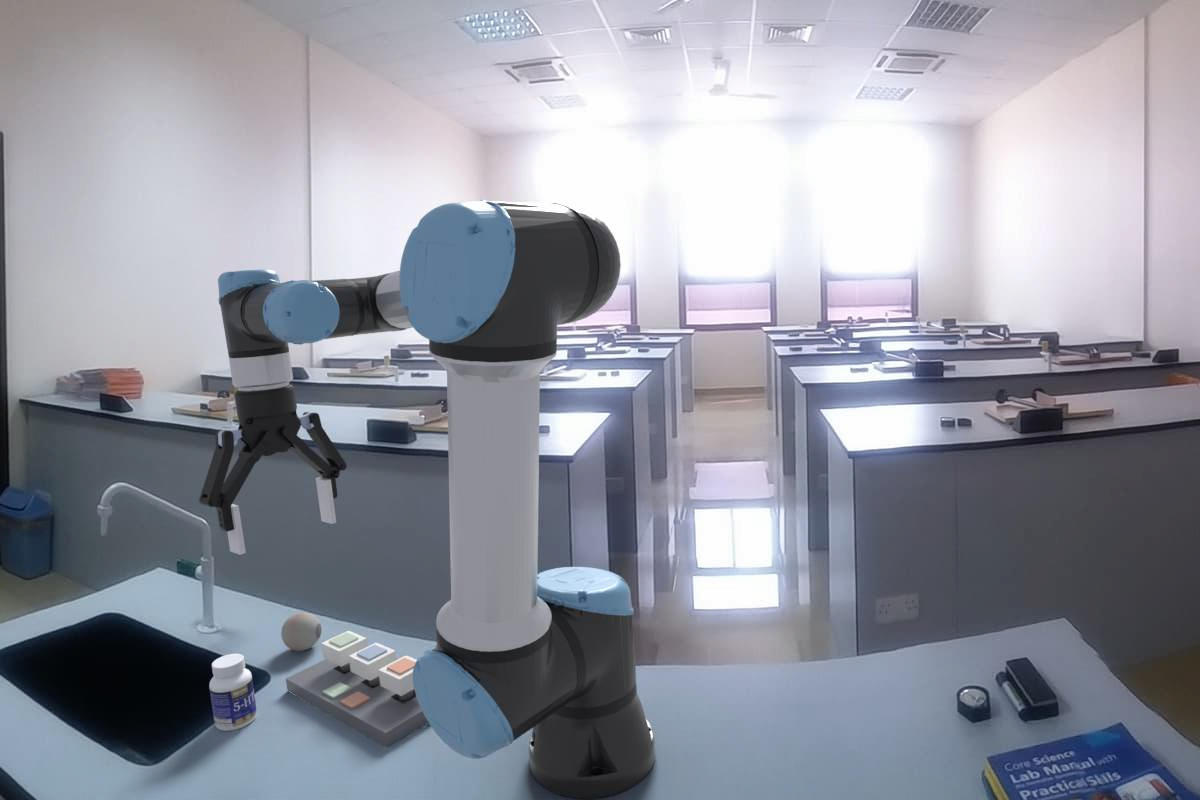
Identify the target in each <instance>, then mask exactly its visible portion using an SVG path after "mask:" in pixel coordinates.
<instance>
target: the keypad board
mask: <svg viewBox="0 0 1200 800" xmlns="http://www.w3.org/2000/svg"><path fill="white" fill-rule="evenodd" d="M285 682H286V691H287V690H288V691H290V692H292V693H293V694H295V695H297V696H298V697H297V696H296V697H297V698H299V697H300V698H302V699H303V700H302V699H301V700H302V701H304V700H305V701H304V702H306V701H307V702H306V703H308V702H309V703H310V704H309V703H308V704H309V705H311V704H312V706H313V707H315V708H317V709H318V710H320V711H322V712H323V713H325V714H327V715H329V716H331V717H333V718H334V719H336V720H338V721H340V722H342V723H344V724H345V725H347V726H349V727H350V728H352V729H354V730H356V731H357V732H360V733H361V734H363V735H364V736H366V737H368V738H369V739H371V740H373V741H375V742H377V743H379V744H381V745H382V746H384V747H385V748H389V747H390V746H392V745H393V744H395V743H396V742H398V741H399V740H401V739H403V738H404V737H406V736H408V735H410V734H412V733H414V731H416V730H418V729H420V728H421V727H422V726H424V725H426V724H427V723H429V722H428V720H427V719H426V717H425V715H424V713H423V712H422V709H421V707H420V705H419V703H418V700H417V697H416V693H415V689H413V694H414V696H413V697H412V698H411V699H409V700H406V701H402V700H399V696H398V694H396V693H394V692H392V691H390V690H388V689H386V688H384V687H382V686H380V684H379V685H375V686H371V685H369V684H368V680H367V679H365V678H363V677H361V676H359V675H357V674H355V673H353V672H351V671H347V672H343V671H341V670H340V666H338V665H336V664H334V663H332V662H330V661H328V660H326V659H323V660H321V661H319V662H317V663H316V664H313V665H310V666H309V667H307V668H305V669H302V670H301V671H299V672H296V673H294V674H292V675H290V676H287V677H286V678H285ZM288 691H287V692H288ZM290 692H289V693H290ZM292 693H291V694H292ZM293 694H292V695H293ZM295 695H294V696H295ZM300 698H299V699H300Z"/></svg>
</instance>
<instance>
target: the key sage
mask: <svg viewBox="0 0 1200 800" xmlns="http://www.w3.org/2000/svg"><path fill="white" fill-rule="evenodd" d="M368 646H369V645H368V639H367V637H364V636H363V635H360V634H357V633H355V632H353V631H351V630H346V631H345V632H342V633H341V634H338V635H336V636H334V637H331V638H330V639H327V640H325V641H323V642H321V651H322V657H323V660H325V659H326V660H328V661H330V662H332V663H334V664H336V665H338V666H340V670H341V671H343V672H347V671H351V670H350V662H349V656H350V655H352V654H354V653H356V652H358V651H360V650H362V649H364V648H366V647H368Z"/></svg>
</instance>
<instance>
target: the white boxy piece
mask: <svg viewBox="0 0 1200 800" xmlns="http://www.w3.org/2000/svg"><path fill="white" fill-rule="evenodd" d="M367 646H368V647H366V648H364V649H362V650H360V651H358V652H356V653H354V654H352V655H350V656H349V662H350V670H351V672H353V673H355V674H357V675H359V676H361V677H363V678H365V679H367V680H368V684H369V685H371V686H375V685H379V684H380V679H379V669H381V668H383V667H385V666H386V665H388V664H390V663H392V662H394V661H396V660H398V658H397V652H396V650H395V649H393V648H390V647H388V646H385V645H383V644H381V643H378V642H374V643H373V644H370V645H367Z"/></svg>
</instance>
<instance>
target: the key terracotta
mask: <svg viewBox="0 0 1200 800" xmlns="http://www.w3.org/2000/svg"><path fill="white" fill-rule="evenodd" d="M417 660H418V659H416V658H413V657H411V656H409V655H403V656H402V657H400V658H397V660H396V661H394V662H392V663H390V664H388V665H386V666H385V667H383V668H381V669H379V679H380V686H382V687H384V688H386V689H388V690H390V691H392V692H394V693H396V694H398V696H399V700H402V701H406V700H409V699H411V698H412V697H413V696H414V694H413V689H414V685H413V669H414V665H415V663H416V661H417ZM409 701H410V700H409Z"/></svg>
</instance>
